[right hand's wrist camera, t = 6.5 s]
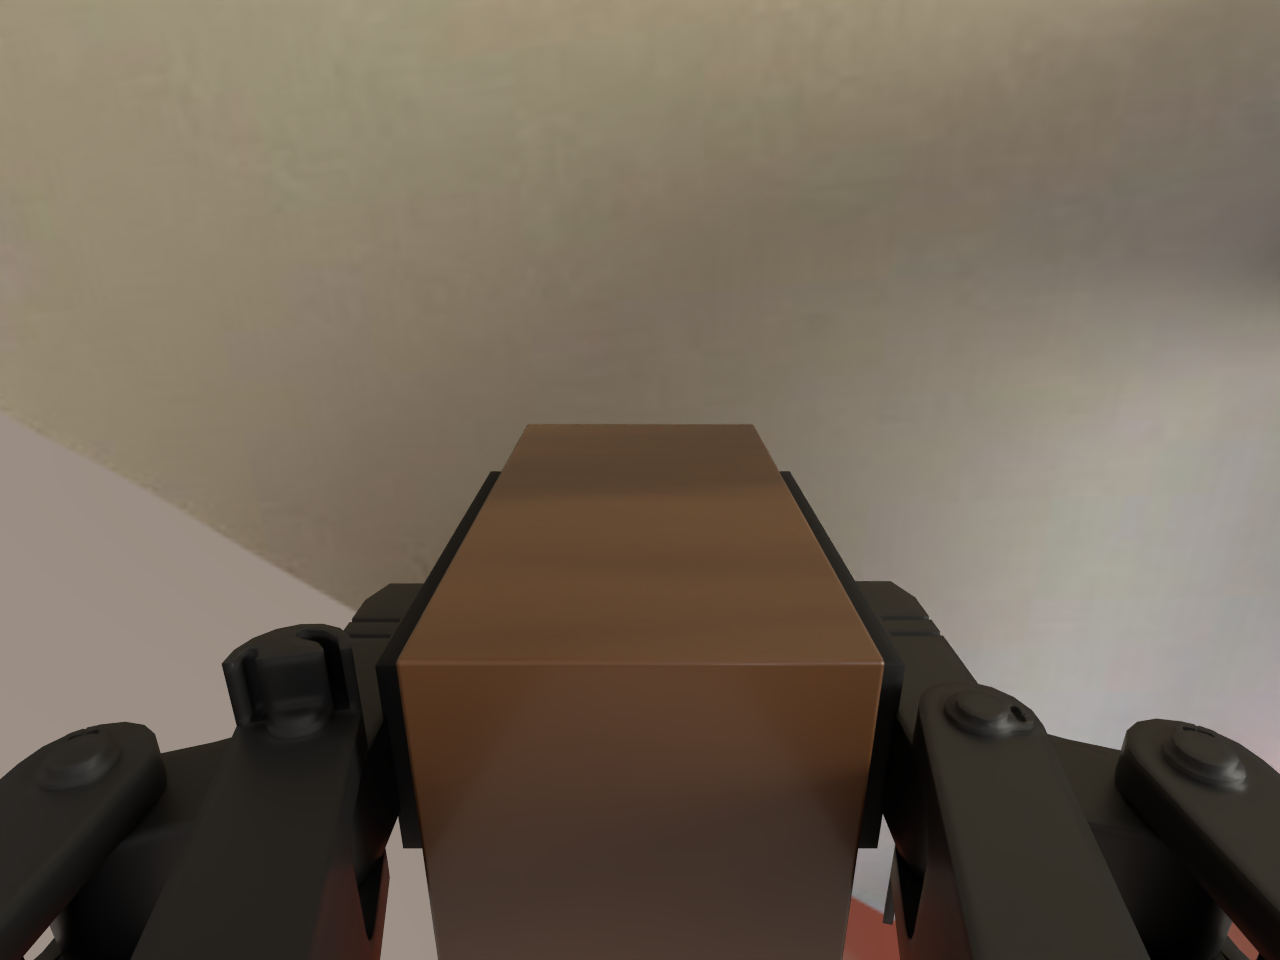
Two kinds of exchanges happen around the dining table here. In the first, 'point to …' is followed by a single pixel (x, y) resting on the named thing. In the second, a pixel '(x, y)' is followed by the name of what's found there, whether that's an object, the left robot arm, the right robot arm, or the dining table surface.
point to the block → (640, 709)
